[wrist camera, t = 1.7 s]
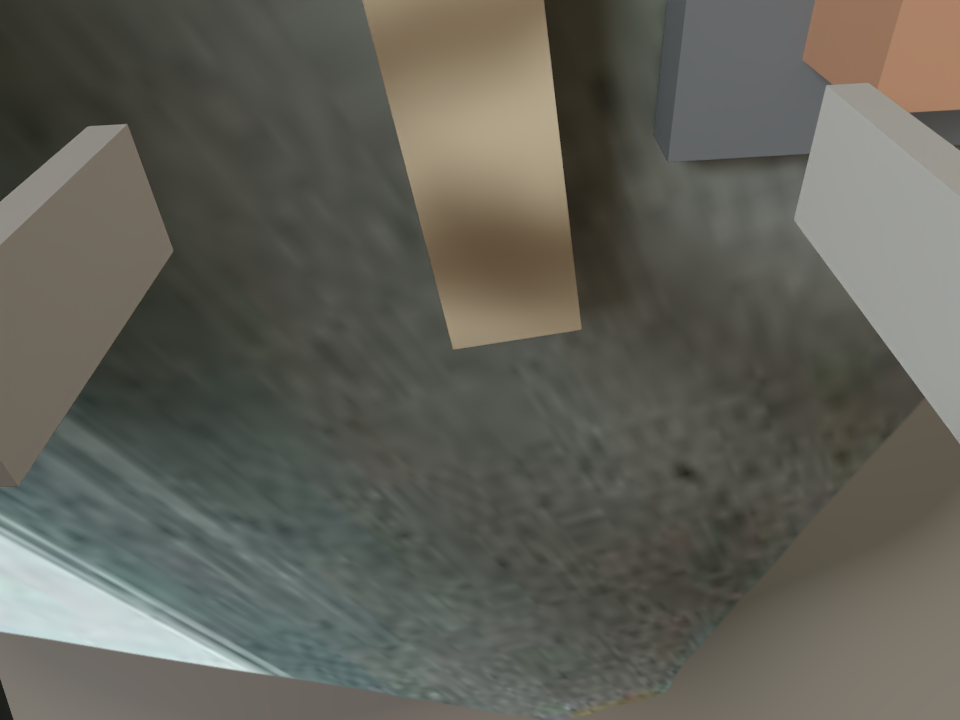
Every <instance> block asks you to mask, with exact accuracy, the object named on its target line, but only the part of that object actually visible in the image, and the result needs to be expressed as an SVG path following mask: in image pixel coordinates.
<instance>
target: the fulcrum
mask: <svg viewBox="0 0 960 720" xmlns="http://www.w3.org/2000/svg"><path fill="white" fill-rule="evenodd" d="M855 83H869V84H871V85H872V86H873V87H875V88H876V89H878V90H879V91H880V92H882V93H883V94H884V95H886V96H887V97H888V98H890V99H891V100H892V101H894V102H895V103H896V104H898V105H899V106H900V107H902V108H903V109H904V110H906V111H907V112H909V113H910V114H911V115H913V116H914V117H915V118H917V119H918V120H919V121H921V122H922V123H923V124H925V125H926V126H927V127H929V128H930V129H931V130H933V131H934V132H935V133H937V134H938V135H940V136H941V137H942V138H944V139H945V140H946V141H948V142H949V143H950V144H952V145H960V0H667V3H666V13H665V23H664V33H663V43H662V53H661V64H660V74H659V84H658V94H657V104H656V114H655V124H654V134H653V136H654V137H655V139H656V141H657V143H658V145H659V147H660V149H661V150H662V152H663V154H664V156H665V158H666V160H667V161H668V162H678V161H695V160H712V159H729V158H746V157H763V156H781V155H798V154H810V151H811V147H812V143H813V138H814V134H815V130H816V126H817V122H818V118H819V113H820V109H821V105H822V101H823V97H824V93H825V88H826V85H837V84H855Z"/></svg>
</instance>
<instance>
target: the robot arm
mask: <svg viewBox="0 0 960 720" xmlns="http://www.w3.org/2000/svg"><path fill="white" fill-rule="evenodd" d="M794 221H795V222H796V224H797V225H798V226H799V228H800V229H801V230H802V232H803V233H804V234H805V236H806V237H807V238H808V240H809V241H810V242H811V244H812V245H813V247H814V248H815V249H816V251H817V252H818V253H819V255H820V256H821V257H822V259H823V260H824V261H825V263H826V264H827V265H828V267H829V268H830V269H831V271H832V272H833V273H834V275H835V276H836V278H837V279H838V280H839V282H840V283H841V284H842V286H843V287H844V288H845V290H846V291H847V292H848V294H849V295H850V296H851V298H852V299H853V300H854V302H855V303H856V305H857V306H858V307H859V309H860V310H861V311H862V313H863V314H864V315H865V317H866V318H867V319H868V321H869V322H870V323H871V325H872V326H873V327H874V329H875V330H876V332H877V333H878V334H879V336H880V337H881V338H882V340H883V341H884V342H885V344H886V345H887V346H888V348H889V349H890V350H891V352H892V353H893V354H894V356H895V357H896V359H897V360H898V361H899V363H900V364H901V365H902V367H903V368H904V369H905V371H906V372H907V373H908V375H909V376H910V377H911V379H912V380H913V381H914V383H915V384H916V385H917V387H918V388H919V390H920V391H921V392H922V394H923V395H924V396H925V398H926V399H927V400H928V402H929V403H930V404H931V406H932V407H933V408H934V410H935V411H936V412H937V414H938V415H939V416H940V418H941V419H942V421H943V422H944V423H945V425H946V426H947V427H948V429H949V430H950V431H951V433H952V434H953V435H954V437H955V438H956V439H957V441H958V442H959V444H960V150H958V149H957V148H956V147H954V146H953V145H952V144H950V143H949V142H948V141H946V140H945V139H944V138H942V137H941V136H940V135H938V134H937V133H935V132H934V131H933V130H931V129H930V128H929V127H927V126H926V125H925V124H923V123H922V122H921V121H919V120H918V119H917V118H915V117H914V116H913V115H911V114H910V113H909V112H907V111H906V110H904V109H903V108H902V107H900V106H899V105H898V104H896V103H895V102H894V101H892V100H891V99H890V98H888V97H887V96H886V95H884V94H883V93H882V92H880V91H879V90H878V89H876V88H875V87H873V86H872V85H871V84H869V83H855V84H837V85H826V88H825V93H824V97H823V101H822V105H821V109H820V113H819V118H818V122H817V126H816V130H815V134H814V138H813V143H812V147H811V151H810V155H809V159H808V163H807V167H806V172H805V176H804V180H803V184H802V188H801V192H800V197H799V201H798V205H797V209H796V213H795V217H794ZM172 253H173V248H172V245H171V242H170V240H169V237H168V234H167V231H166V229H165V226H164V223H163V220H162V218H161V215H160V212H159V210H158V207H157V204H156V201H155V199H154V196H153V193H152V190H151V188H150V185H149V182H148V179H147V177H146V174H145V171H144V168H143V166H142V163H141V160H140V157H139V155H138V152H137V149H136V146H135V144H134V141H133V138H132V135H131V133H130V130H129V127H128V124H120V125H102V126H88V127H86V128H85V129H84V130H83V131H82V132H81V133H79V134H78V135H77V136H76V137H75V138H74V139H73V140H71V141H70V142H69V143H68V144H67V145H66V146H64V147H63V148H62V149H61V150H60V151H59V152H57V153H56V154H55V155H54V156H53V157H52V158H50V159H49V160H48V161H47V162H46V163H45V164H43V165H42V166H41V167H40V168H39V169H38V170H36V171H35V172H34V173H33V174H32V175H31V176H29V177H28V178H27V179H26V180H25V181H24V182H22V183H21V184H20V185H19V186H18V187H17V188H16V189H14V190H13V191H12V192H11V193H10V194H9V195H7V196H6V197H5V198H4V199H3V200H2V201H0V487H15V486H19V485H20V483H21V482H22V480H23V479H24V477H25V476H26V474H27V472H28V471H29V469H30V468H31V466H32V465H33V463H34V462H35V460H36V459H37V457H38V456H39V454H40V453H41V451H42V450H43V448H44V447H45V445H46V444H47V442H48V441H49V439H50V438H51V436H52V435H53V433H54V432H55V430H56V429H57V427H58V426H59V424H60V422H61V421H62V419H63V418H64V416H65V415H66V413H67V412H68V410H69V409H70V407H71V406H72V404H73V403H74V401H75V400H76V398H77V397H78V395H79V394H80V392H81V391H82V389H83V388H84V386H85V385H86V383H87V382H88V380H89V379H90V377H91V376H92V374H93V372H94V371H95V369H96V368H97V366H98V365H99V363H100V362H101V360H102V359H103V357H104V356H105V354H106V353H107V351H108V350H109V348H110V347H111V345H112V344H113V342H114V341H115V339H116V338H117V336H118V335H119V333H120V332H121V330H122V329H123V327H124V326H125V324H126V323H127V321H128V319H129V318H130V316H131V315H132V313H133V312H134V310H135V309H136V307H137V306H138V304H139V303H140V301H141V300H142V298H143V297H144V295H145V294H146V292H147V291H148V289H149V288H150V286H151V285H152V283H153V282H154V280H155V279H156V277H157V276H158V274H159V273H160V271H161V269H162V268H163V266H164V265H165V263H166V262H167V260H168V259H169V257H170V256H171V254H172ZM0 720H13V717H12V714H11V711H10V708H9V705H8V702H7V699H6V696H5V693H4V689H3V687H2V683H1V680H0Z"/></svg>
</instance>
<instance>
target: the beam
mask: <svg viewBox="0 0 960 720" xmlns="http://www.w3.org/2000/svg"><path fill="white" fill-rule="evenodd" d="M362 1H363V5H364V9H365V12H366V16H367V20H368V24H369V28H370V32H371V35H372V39H373V43H374V47H375V51H376V55H377V59H378V62H379V66H380V70H381V74H382V78H383V82H384V85H385V89H386V93H387V97H388V101H389V105H390V109H391V112H392V116H393V120H394V124H395V128H396V132H397V135H398V139H399V143H400V147H401V151H402V155H403V158H404V162H405V166H406V170H407V174H408V178H409V182H410V185H411V189H412V193H413V197H414V201H415V205H416V208H417V212H418V216H419V220H420V224H421V228H422V232H423V235H424V239H425V243H426V247H427V251H428V255H429V258H430V262H431V266H432V270H433V274H434V278H435V282H436V285H437V289H438V293H439V297H440V301H441V305H442V308H443V312H444V316H445V320H446V324H447V328H448V332H449V335H450V339H451V343H452V347H453V350H454V349H460V348H467V347H473V346H480V345H486V344H493V343H499V342H506V341H512V340H519V339H525V338H531V337H538V336H544V335H551V334H557V333H564V332H570V331H577V330H582V328H581V319H580V310H579V301H578V293H577V284H576V275H575V267H574V258H573V249H572V241H571V232H570V223H569V214H568V206H567V197H566V188H565V180H564V171H563V162H562V154H561V145H560V136H559V127H558V119H557V110H556V101H555V93H554V84H553V75H552V67H551V58H550V49H549V41H548V32H547V23H546V14H545V6H544V0H362Z"/></svg>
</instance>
